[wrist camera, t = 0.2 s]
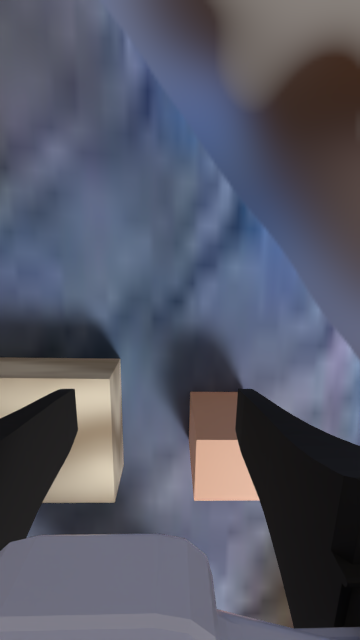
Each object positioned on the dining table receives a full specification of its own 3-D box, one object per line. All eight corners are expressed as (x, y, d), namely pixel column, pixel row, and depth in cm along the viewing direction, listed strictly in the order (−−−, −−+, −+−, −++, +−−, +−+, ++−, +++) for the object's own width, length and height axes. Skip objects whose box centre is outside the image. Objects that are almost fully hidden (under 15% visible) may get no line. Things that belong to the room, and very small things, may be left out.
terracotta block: (240, 439, 23) (263, 500, 17) (188, 438, 23) (193, 500, 17) (244, 391, 22) (269, 440, 16) (190, 391, 22) (196, 439, 16)
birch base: (124, 462, 24) (114, 502, 20) (10, 462, 23) (-22, 503, 20) (121, 357, 22) (109, 379, 18) (-5, 355, 21) (-46, 377, 17)
